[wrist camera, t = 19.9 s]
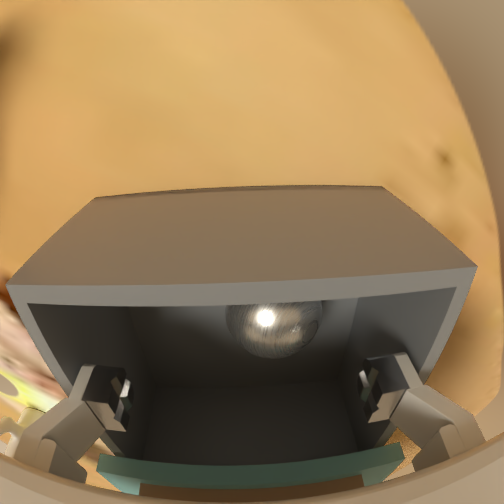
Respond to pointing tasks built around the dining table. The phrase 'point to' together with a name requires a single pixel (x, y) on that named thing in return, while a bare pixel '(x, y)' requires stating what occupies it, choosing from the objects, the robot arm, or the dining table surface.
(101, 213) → the bin
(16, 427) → the mug
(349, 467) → the lid
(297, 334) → the steel ball
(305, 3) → the dining table surface
